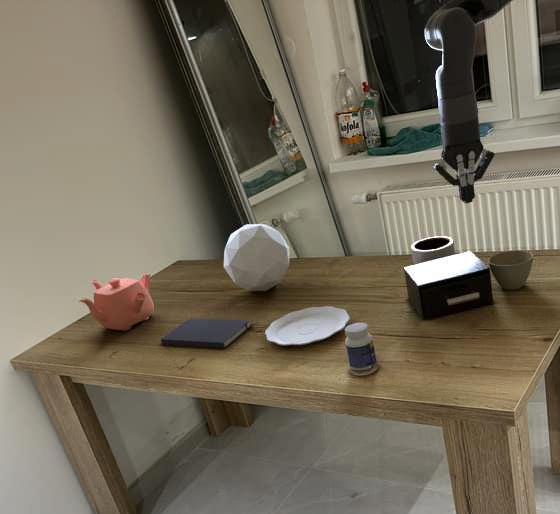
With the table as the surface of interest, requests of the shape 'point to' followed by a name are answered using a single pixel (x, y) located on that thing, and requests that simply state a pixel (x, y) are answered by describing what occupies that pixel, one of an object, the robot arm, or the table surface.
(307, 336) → the plate
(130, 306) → the teapot
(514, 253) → the flower pot
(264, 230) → the ball
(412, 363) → the table surface
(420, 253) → the planter
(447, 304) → the drawer
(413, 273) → the cabinet
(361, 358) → the pill bottle
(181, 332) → the notebook
